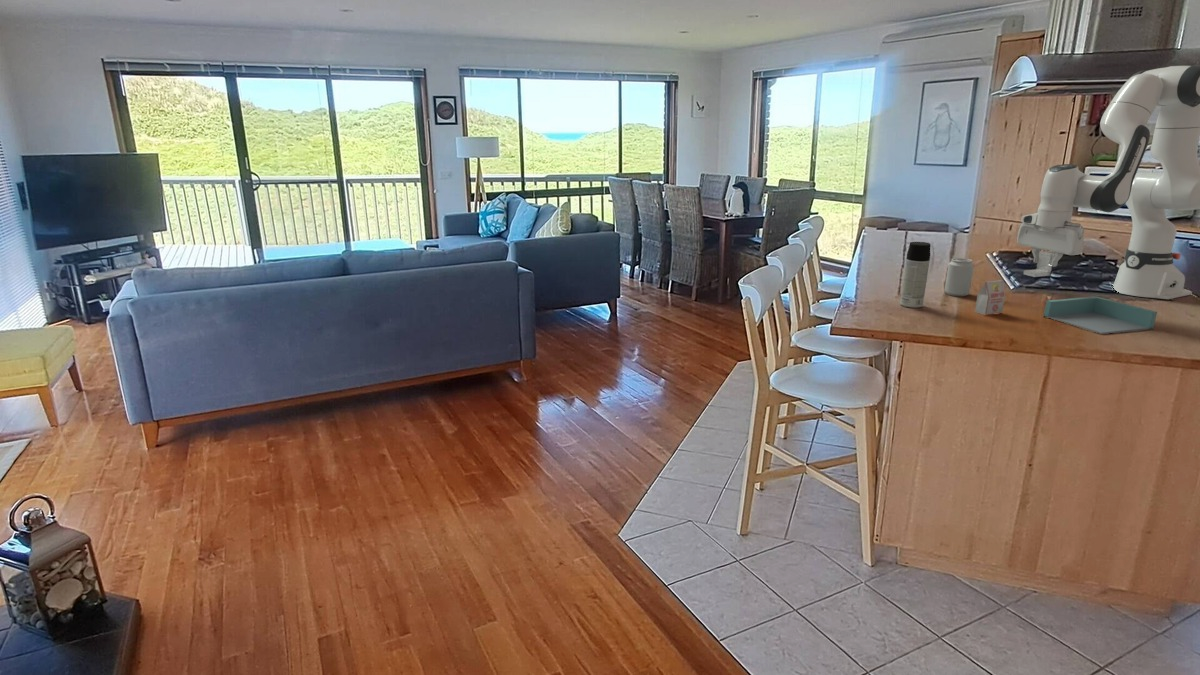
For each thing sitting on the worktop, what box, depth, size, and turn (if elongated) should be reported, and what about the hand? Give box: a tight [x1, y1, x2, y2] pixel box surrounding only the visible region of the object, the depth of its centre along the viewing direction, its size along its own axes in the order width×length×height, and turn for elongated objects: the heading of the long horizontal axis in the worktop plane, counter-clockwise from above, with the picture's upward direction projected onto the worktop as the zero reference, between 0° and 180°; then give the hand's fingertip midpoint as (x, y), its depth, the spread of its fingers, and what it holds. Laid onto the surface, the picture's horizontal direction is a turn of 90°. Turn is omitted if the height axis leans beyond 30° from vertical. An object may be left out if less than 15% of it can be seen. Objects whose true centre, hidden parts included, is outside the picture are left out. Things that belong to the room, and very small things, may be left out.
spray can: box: [899, 241, 932, 309], centre depth 204 cm, size 7×7×20 cm
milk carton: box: [974, 279, 1006, 315], centre depth 196 cm, size 4×7×10 cm, turn 109°
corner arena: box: [1043, 295, 1158, 335], centre depth 186 cm, size 18×18×5 cm
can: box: [944, 257, 975, 297], centre depth 218 cm, size 8×8×12 cm
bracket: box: [1023, 250, 1054, 278], centre depth 202 cm, size 6×4×7 cm, turn 104°
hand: (1044, 264), depth 202 cm, fingers closed on bracket, 4 cm apart
